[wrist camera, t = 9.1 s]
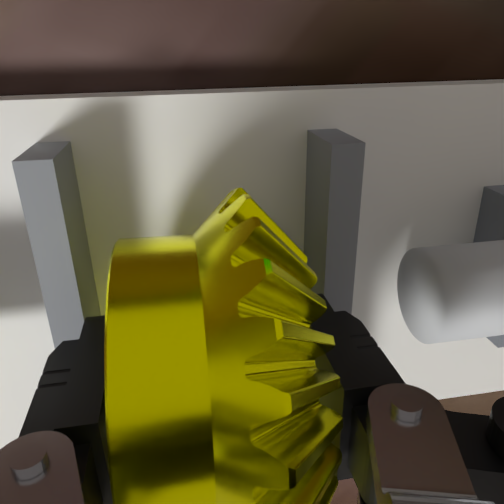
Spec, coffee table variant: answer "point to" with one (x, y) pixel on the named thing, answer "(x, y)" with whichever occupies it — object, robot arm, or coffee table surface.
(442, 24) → the coffee table surface
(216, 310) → the gear
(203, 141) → the coupling board
